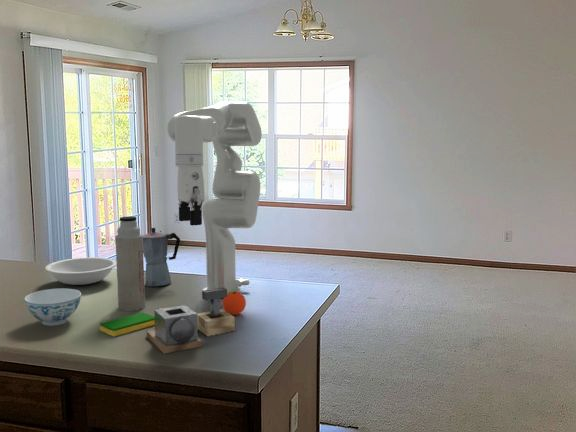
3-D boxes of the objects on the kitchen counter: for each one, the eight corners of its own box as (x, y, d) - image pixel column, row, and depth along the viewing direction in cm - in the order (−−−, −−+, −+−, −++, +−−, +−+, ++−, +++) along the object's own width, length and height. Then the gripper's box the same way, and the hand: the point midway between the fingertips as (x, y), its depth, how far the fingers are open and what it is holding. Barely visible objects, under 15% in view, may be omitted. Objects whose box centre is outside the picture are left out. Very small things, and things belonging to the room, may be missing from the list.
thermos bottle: (149, 303, 192) (146, 215, 188) (138, 311, 184) (134, 219, 180) (125, 302, 194) (122, 214, 189) (113, 309, 186) (109, 218, 181)
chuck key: (224, 326, 171) (223, 287, 169) (228, 328, 169) (227, 289, 167) (202, 330, 168) (201, 290, 166) (206, 332, 166) (205, 292, 164)
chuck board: (182, 330, 168) (182, 324, 168) (202, 346, 156) (201, 340, 156) (146, 336, 163) (146, 331, 163) (164, 353, 151) (163, 347, 151)
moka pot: (139, 280, 220) (137, 225, 217) (182, 279, 221) (181, 225, 218) (134, 287, 210) (132, 230, 207) (180, 286, 212) (178, 229, 208)
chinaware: (27, 316, 179) (25, 291, 178) (81, 311, 184) (80, 286, 183) (25, 333, 165) (23, 305, 164) (83, 326, 171) (82, 300, 169)
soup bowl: (106, 292, 205) (105, 273, 204) (34, 292, 205) (33, 273, 204) (125, 274, 229) (125, 257, 228) (61, 274, 229) (60, 257, 228)
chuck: (199, 341, 155) (198, 314, 154) (167, 347, 151) (166, 320, 150) (174, 321, 171) (173, 296, 170) (144, 326, 167) (143, 301, 166)
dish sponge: (99, 331, 168) (99, 323, 168) (142, 319, 178) (142, 311, 178) (113, 337, 163) (113, 329, 163) (157, 325, 173) (156, 317, 173)
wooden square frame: (222, 322, 174) (222, 309, 173) (234, 331, 167) (234, 317, 166) (196, 327, 170) (195, 313, 169) (207, 336, 163) (207, 321, 162)
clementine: (215, 314, 182) (214, 290, 181) (232, 308, 187) (231, 286, 186) (234, 319, 177) (233, 295, 176) (250, 314, 182) (250, 290, 181)
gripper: (213, 161, 163) (213, 226, 165) (192, 160, 178) (193, 218, 180) (186, 162, 159) (187, 227, 161) (166, 160, 174) (168, 220, 176)
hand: (190, 222), depth 171 cm, fingers open, 9 cm apart
